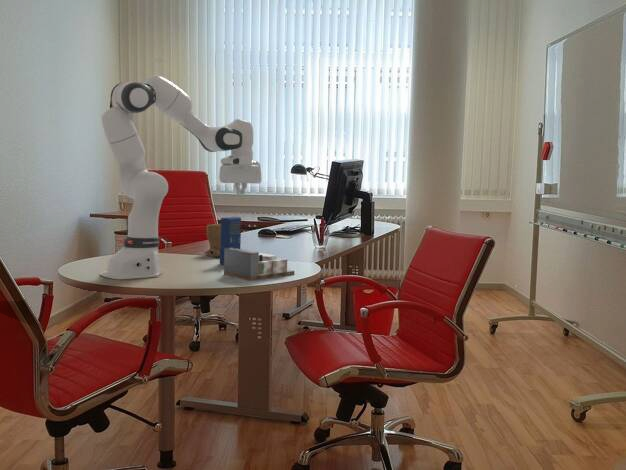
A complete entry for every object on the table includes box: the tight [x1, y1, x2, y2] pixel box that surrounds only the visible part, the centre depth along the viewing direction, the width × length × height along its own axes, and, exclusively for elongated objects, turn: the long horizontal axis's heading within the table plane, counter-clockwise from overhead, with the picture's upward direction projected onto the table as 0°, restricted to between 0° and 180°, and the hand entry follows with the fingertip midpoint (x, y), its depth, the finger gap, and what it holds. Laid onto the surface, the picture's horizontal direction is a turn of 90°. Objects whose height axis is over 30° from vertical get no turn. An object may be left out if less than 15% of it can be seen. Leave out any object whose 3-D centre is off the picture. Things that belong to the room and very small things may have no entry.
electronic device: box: [219, 216, 242, 266], centre depth 280 cm, size 10×5×20 cm, turn 152°
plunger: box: [259, 252, 277, 262], centre depth 256 cm, size 6×12×6 cm, turn 48°
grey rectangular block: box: [223, 248, 260, 277], centre depth 248 cm, size 4×15×9 cm, turn 48°
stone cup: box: [204, 223, 221, 258], centre depth 303 cm, size 15×12×15 cm
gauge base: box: [223, 258, 295, 282], centre depth 255 cm, size 24×15×6 cm, turn 138°
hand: (240, 194), depth 265 cm, fingers closed
